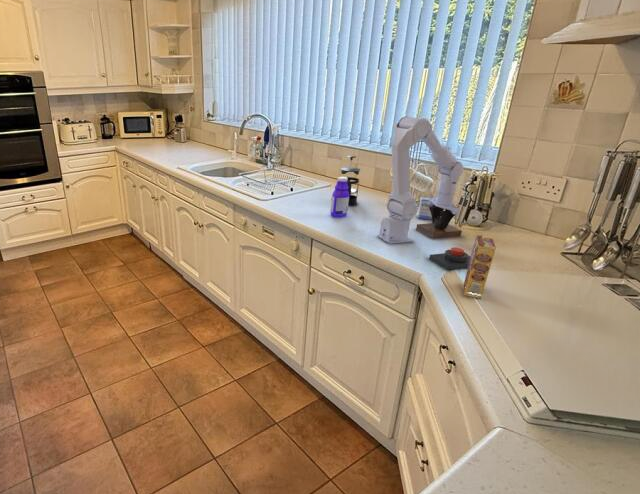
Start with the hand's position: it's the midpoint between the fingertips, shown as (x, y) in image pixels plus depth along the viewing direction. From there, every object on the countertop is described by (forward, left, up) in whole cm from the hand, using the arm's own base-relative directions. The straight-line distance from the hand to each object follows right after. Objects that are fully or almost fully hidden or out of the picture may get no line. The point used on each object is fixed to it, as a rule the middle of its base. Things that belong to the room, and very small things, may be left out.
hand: (439, 226), depth 152 cm
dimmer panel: (0, 0, -3) cm, 3 cm away
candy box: (-21, -42, -3) cm, 47 cm away
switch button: (-13, -25, 0) cm, 28 cm away
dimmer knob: (0, 0, 0) cm, 0 cm away
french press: (-15, +46, -3) cm, 49 cm away
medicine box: (+8, +17, -3) cm, 19 cm away
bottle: (-28, +28, -3) cm, 40 cm away
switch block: (-13, -25, -3) cm, 28 cm away
